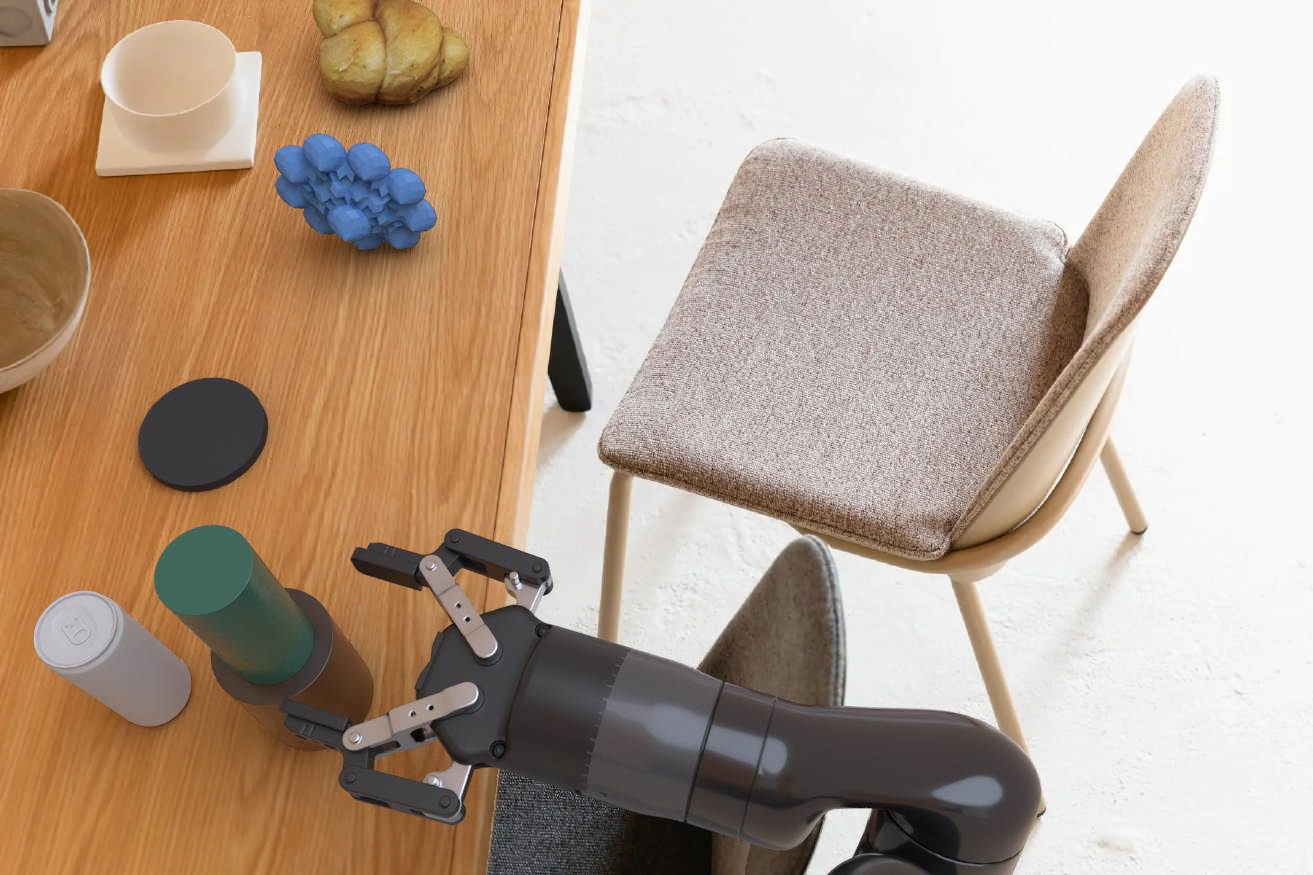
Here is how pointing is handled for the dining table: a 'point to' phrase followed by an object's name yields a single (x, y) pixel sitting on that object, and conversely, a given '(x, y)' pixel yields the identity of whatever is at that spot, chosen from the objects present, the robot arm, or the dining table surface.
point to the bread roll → (385, 50)
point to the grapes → (353, 193)
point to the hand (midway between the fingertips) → (320, 631)
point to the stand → (307, 678)
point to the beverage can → (112, 658)
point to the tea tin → (234, 604)
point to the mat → (203, 434)
